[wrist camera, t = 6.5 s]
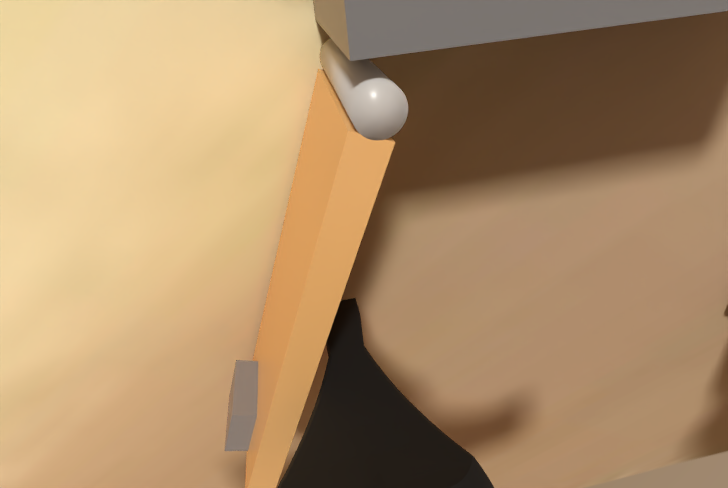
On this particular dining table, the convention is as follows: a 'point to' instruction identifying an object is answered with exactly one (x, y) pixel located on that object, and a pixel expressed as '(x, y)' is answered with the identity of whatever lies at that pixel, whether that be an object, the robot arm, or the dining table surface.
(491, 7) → the grey box with knob
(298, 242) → the side door
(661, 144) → the dining table surface
